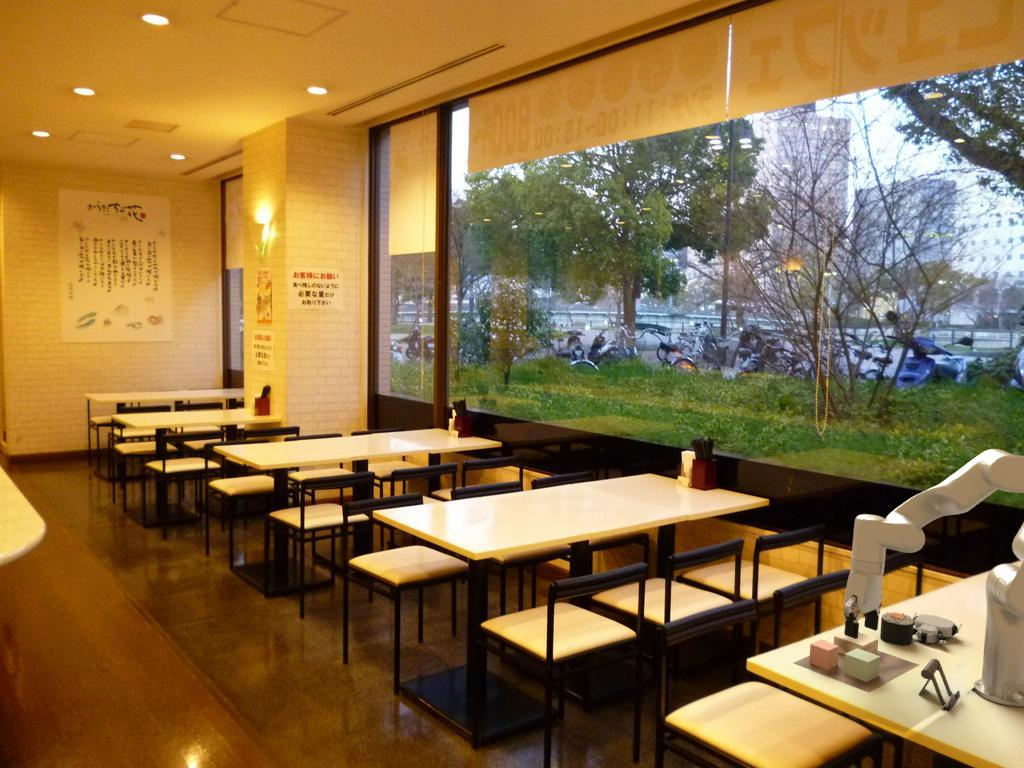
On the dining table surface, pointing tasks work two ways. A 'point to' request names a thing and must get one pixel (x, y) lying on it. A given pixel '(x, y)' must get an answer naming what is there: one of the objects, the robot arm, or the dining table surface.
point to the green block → (862, 664)
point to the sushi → (897, 629)
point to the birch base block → (856, 643)
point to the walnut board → (887, 672)
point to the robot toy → (933, 628)
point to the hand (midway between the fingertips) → (861, 632)
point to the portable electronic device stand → (929, 674)
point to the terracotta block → (824, 654)
